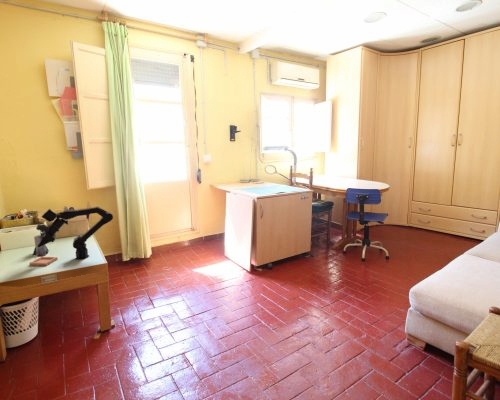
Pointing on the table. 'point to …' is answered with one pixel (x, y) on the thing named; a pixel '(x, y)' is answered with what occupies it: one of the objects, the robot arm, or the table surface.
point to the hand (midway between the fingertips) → (37, 245)
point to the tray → (43, 261)
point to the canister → (39, 250)
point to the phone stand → (36, 253)
